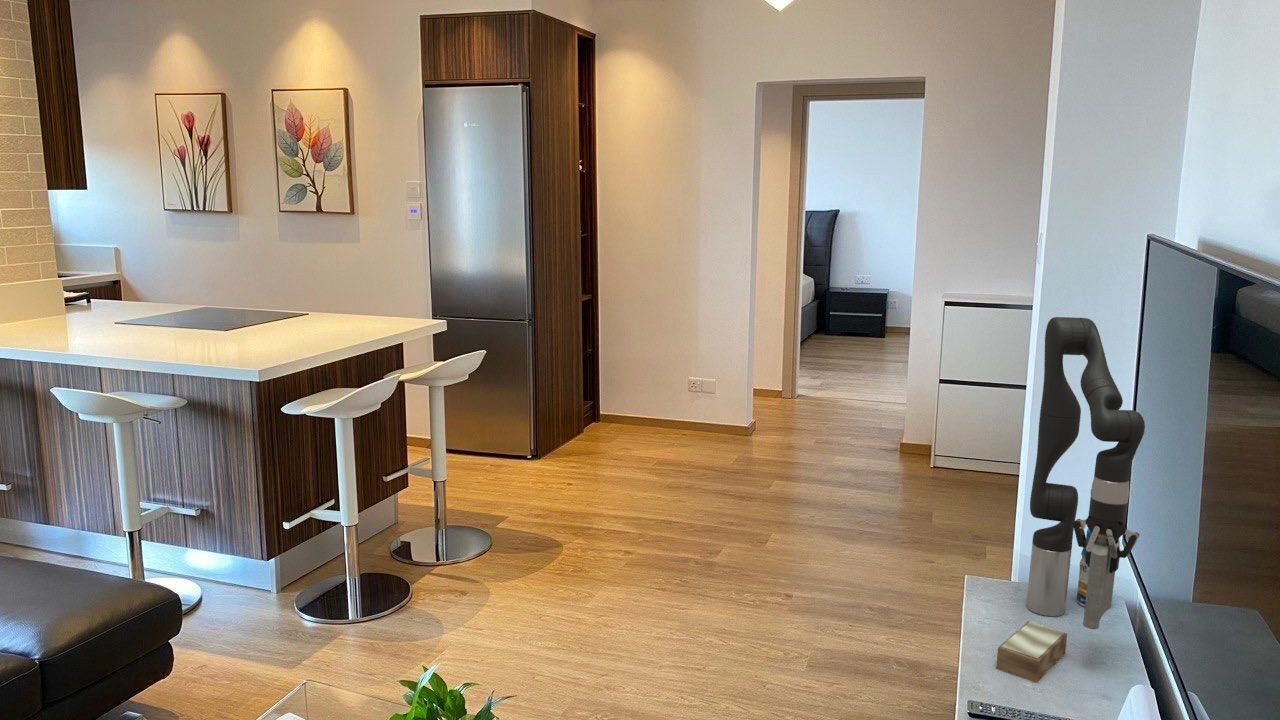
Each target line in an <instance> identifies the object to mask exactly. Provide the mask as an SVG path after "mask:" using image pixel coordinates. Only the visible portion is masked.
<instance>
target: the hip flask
mask: <svg viewBox="0 0 1280 720" xmlns="http://www.w3.org/2000/svg"><path fill="white" fill-rule="evenodd" d="M1106 539H1108V537H1107V535H1105V534H1101V533H1099V534H1098V536H1097V538H1096V542H1095V543H1093V545H1092V549H1091V558H1090V567H1089V576H1088V584H1087V593H1086V602H1085V607H1084V612H1083V613H1084V614H1083V620H1082V621H1083V622H1082V625H1083V627H1085V628H1087V629H1090V630H1098V629H1099V628H1100V621H1101V619H1102V617H1103V615H1104V614H1105V613H1106V612H1107V611H1108V610H1110V609H1111V608H1112V600H1113V592H1114V586H1115V585H1114V584H1115V576H1116V572H1114V573H1113V574H1112V573H1109V568H1110V559H1111V557H1112V555H1111V549H1110V547H1109V543H1108V541H1107V540H1106Z"/></svg>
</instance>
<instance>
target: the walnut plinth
mask: <svg viewBox="0 0 1280 720" xmlns="http://www.w3.org/2000/svg"><path fill="white" fill-rule="evenodd" d="M1067 638H1068V633H1066V632H1064V631H1061V630H1058V629H1055V628H1053V627H1052V628H1051V627H1049V626H1045V625H1042V624H1039V623H1036V622H1033V621H1030V620H1029V621H1028V620H1027V622H1026V623H1025V624H1023V625H1022V626H1021V627H1020V628H1018V629H1017V630H1016V631H1015V632H1014V633H1013V634H1012V635H1011V636H1009V637H1008V638H1007V639H1006V640H1005V641H1004V642H1003V643H1002V644H1000V645H999V646H998V647H997V655H996V665H995V666H996V667H995V668H996V669H998V670H1000V671H1003V672H1006V673H1009V674H1012V675H1015V676H1018V677H1020V678H1024V679H1026V680H1029V681H1031V682H1035V683H1038V682H1039V680H1041V679H1042V678H1043V677H1044V676H1045V675H1046V674H1047V673H1048V672H1049V671H1050V670H1051V669H1052V667H1054V665H1056V664H1057V662H1059V660H1060V659H1062V657H1064V655H1066V649H1067ZM1056 661H1057V662H1056ZM1049 669H1050V670H1049ZM1048 670H1049V671H1048ZM1047 671H1048V672H1047ZM1046 672H1047V673H1046ZM1045 673H1046V674H1045ZM1044 674H1045V675H1044Z"/></svg>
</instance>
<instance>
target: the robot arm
mask: <svg viewBox="0 0 1280 720" xmlns="http://www.w3.org/2000/svg"><path fill="white" fill-rule="evenodd" d="M1045 328H1046V329H1045V333H1044V334H1045V335H1044V364H1043V365H1044V370H1043V372H1044V373H1043V374H1044V375H1043V386H1042V396H1041V404H1040V410H1039V422H1038V435H1037V436H1038V437H1037V449H1036V450H1037V451H1036V458H1035V459H1036V460H1035V467H1034V473H1033V478H1032V480H1033V481H1032V485H1031V491H1030V497H1029V499H1030V500H1029V510H1030V511H1029V512H1030V514H1031V516H1032V518H1035V519H1041V520H1047V521H1053V522H1058V523H1057V524H1055V525H1052V526H1048V527H1044V528H1040V529H1037V530H1035V531H1033V535H1032V541H1031V542H1032V543H1031V551H1030V552H1031V555H1030V565H1029V574H1028V575H1029V576H1028V583H1027V592H1026V600H1025V601H1026V604H1025V606H1026V608H1027V609H1028V610H1030V611H1031V612H1032V613H1035V614H1038V615H1042V616H1046V617H1059V616H1060V617H1061V616H1063V615H1065V612H1066V605H1067V596H1068V587H1069V578H1070V577H1069V575H1070V567H1071V560H1072V559H1071V557H1072V548H1073V537H1074V534H1075V539H1076V543H1077V546H1078V547H1080V548H1084V549H1086V559H1085V563H1086V564H1088V567H1090V558H1091V549H1092V545H1093V543H1095V542H1096V538H1097V536H1098V534H1099V533H1101V534H1105V535H1107V537H1108V539H1106V540H1107V541H1108V543H1109V547H1110V549H1111V555H1112V557H1111V559H1110V568H1109V573H1112V574H1113V573H1114V572H1115V573H1116V571H1117V570H1118V569H1119V565H1120V559H1121V558H1123V559H1126V558H1127V557H1128V556H1129V555H1130V554H1131V552H1132V550H1133V548H1134V546H1135V545H1136V543H1137V541H1138V539H1139V538H1140V533H1138V532H1137V531H1136V532H1133V531H1131V530H1129V529H1128V526H1127V524H1126V521H1127V512H1128V506H1129V505H1128V503H1129V497H1130V496H1129V495H1130V477H1131V468H1132V462H1133V460H1134V458H1135V456H1136V453H1137V450H1138V448H1139V446H1140V444H1141V441H1142V440H1143V437H1144V434H1145V429H1146V424H1145V420H1144V419H1145V418H1143V416H1142V414H1141V413H1139V412H1138V411H1137V410H1132V409H1121V407H1122V406H1123V403H1124V401H1123V396H1122V394H1121V392H1120V390H1119V388H1118V386H1117V384H1116V382H1115V381H1114V379H1113V376H1112V374H1111V372H1110V369H1109V366H1108V361H1107V358H1106V354H1105V351H1104V350H1105V349H1104V347H1103V342H1102V339H1101V336H1100V332H1099V329H1098V327H1097V325H1096V323H1095V322H1094V321H1093V320H1091V319H1090V318H1086V317H1070V316H1069V317H1068V316H1066V317H1065V316H1054V317H1051V318H1050V319H1049V321H1048V322H1047V324H1046V327H1045ZM1065 355H1067V356H1084V357H1085V359H1086V360H1087V362H1086V366H1085V367H1084V369H1083V372H1082V374H1081V377H1080V388H1081V392H1082V394H1083V396H1084V398H1085V400H1086V402H1087V405H1088V408H1089V412H1090V430H1091V433H1092V434H1093V436H1094V437H1095V438H1096V439H1097V440H1099V441H1101V442H1107V443H1110V442H1111V443H1114V442H1115V443H1117V444H1116V445H1115V446H1113V447H1111V448H1107V449H1103V450H1100V451H1098V453H1097V454H1096V458H1095V465H1094V466H1095V467H1094V473H1093V474H1094V475H1093V480H1092V483H1091V488H1090V500H1089V509H1088V516H1087V517H1086V518H1085V519H1080V518H1077V519H1076V517H1077V516H1076V515H1077V512H1078V505H1079V493H1078V489H1077V487H1075V486H1074V485H1073V486H1072V485H1070V484H1069V485H1068V484H1059V483H1050V482H1047V481H1048V478H1049V475H1050V473H1051V471H1052V469H1053V468H1054V466H1055V465H1056V464H1057V463H1058V461H1059V460H1060V458H1062V456H1063V455H1064V454H1066V452H1067V451H1068V450H1069V449H1070V447H1071V446H1072V445H1073V444H1074V443H1075V441H1076V440H1077V438H1078V436H1079V432H1080V425H1081V415H1082V409H1081V405H1080V402H1079V401H1078V399H1077V396H1076V394H1075V393H1074V391H1073V389H1072V388H1071V386H1070V383H1069V382H1068V380H1067V378H1066V375H1065V371H1064V370H1065V369H1064V363H1063V361H1064V356H1065ZM1086 526H1087V529H1088V528H1089V530H1090V532H1091V537H1090V539H1089V542H1087V540H1086V532H1085V528H1086ZM1123 535H1125V540H1126V541H1127V542H1126V544H1125V545H1124V548H1123V549H1122V550H1121V548H1120V547H1121V546H1120V544H1121V542H1120V538H1121V537H1122V536H1123Z"/></svg>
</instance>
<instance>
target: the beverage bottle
mask: <svg viewBox="0 0 1280 720" xmlns="http://www.w3.org/2000/svg"><path fill="white" fill-rule="evenodd" d="M1085 536H1086V540H1087V542H1089V539H1090V537H1091V532H1090V530H1089V528H1088V527H1087V530H1086V534H1085ZM1082 548H1083V547H1082ZM1080 555H1081V559H1080V560H1079V572H1078V573H1079V574H1078V581H1077V583H1078V584H1077V591H1076V602H1077V603H1078V604H1079V605H1081V606H1083V607H1084V608H1085V602H1086V593H1087V584H1088V576H1089V567H1088V564H1086V563H1085V559H1086V549H1084V548H1083V549H1082V551H1081V553H1080Z"/></svg>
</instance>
